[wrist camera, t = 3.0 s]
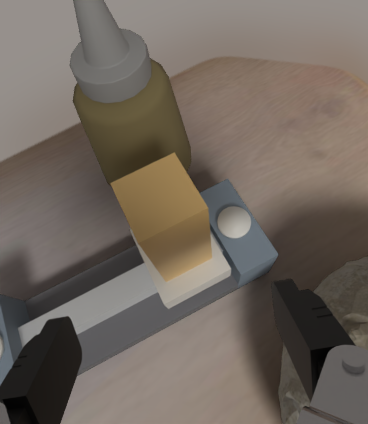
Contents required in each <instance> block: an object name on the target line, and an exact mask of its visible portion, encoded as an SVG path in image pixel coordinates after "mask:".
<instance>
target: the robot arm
mask: <svg viewBox="0 0 368 424" xmlns="http://www.w3.org/2000/svg"><path fill="white" fill-rule="evenodd" d="M271 288H272V298H273V308H274V317H275V322H276V325H277V329H278V331H279V334H280V336H281V338H282V340H283V342H284V345H285V347H286V349H287V351H288V354H289V356H290V358H291V360H292V363H293V365H294V367H295V369H296V371H297V374H298V376H299V378H300V380H301V383H302V385H303V387H304V389H305V392H306V394H307V396H308V398H309V400H310V406H309V407H307V406H304V407H303V408H302V410H301V412H300V414H299V417H298V420H297V423H296V424H368V351H367V350H366V349H363V348H361V347H358V346H356V345H355V343H354V342H353V341H352V339H351V338H350V337H349V335H348V334H347V333H346V331H345V330H344V329H343V327H342V326H341V324H340V323H339V322H338V320H337V319H336V318H335V316H333V314H332V312H331V311H330V309H329V308H327V305H326V304H325V303H324V301H323V300H322V299H321V297H320V296H318V295H317V294H315V293H314V292H312V291H310V290H309V289H307V290H301V291H299V289H298V288H297V286H296V284H295V283H294V281H293V280H292V279H285V280H279V281H274V282H272V283H271ZM81 362H82V348H81V345H80V342H79V339H78V337H77V334H76V331H75V328H74V326H73V323H72V320H71V318H70V317H69V316H65V317H60V318H54V319H49V320H47V321H46V323H45V325H44V327H43V328H42V330H41V332H40V334H38V335H35V336H34V337H33V338H32V339H31V340H30V341H29V342H28V343H27V344H26V345H24V347H23V349H22V350H21V352H20V354H19V355H18V359H16V360H15V362H14V364H13V365H12V369H10V370H9V372H8V374H7V375H6V377H5V379H4V380H3V382H2V384H1V385H0V424H60V423H61V420H62V417H63V414H64V411H65V408H66V406H67V403H68V400H69V397H70V394H71V391H72V388H73V385H74V383H75V380H76V377H77V374H78V371H79V368H80V365H81Z"/></svg>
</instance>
